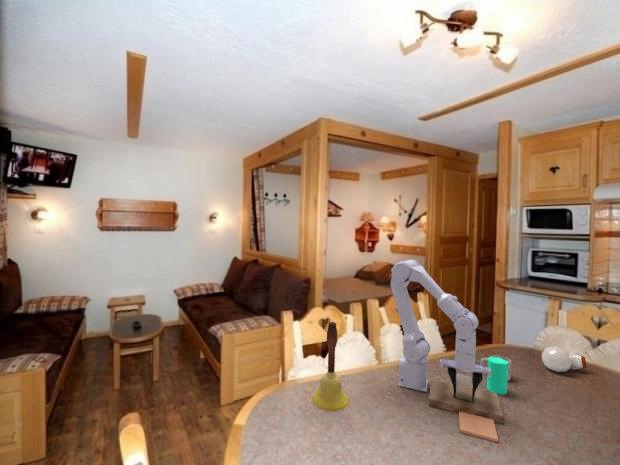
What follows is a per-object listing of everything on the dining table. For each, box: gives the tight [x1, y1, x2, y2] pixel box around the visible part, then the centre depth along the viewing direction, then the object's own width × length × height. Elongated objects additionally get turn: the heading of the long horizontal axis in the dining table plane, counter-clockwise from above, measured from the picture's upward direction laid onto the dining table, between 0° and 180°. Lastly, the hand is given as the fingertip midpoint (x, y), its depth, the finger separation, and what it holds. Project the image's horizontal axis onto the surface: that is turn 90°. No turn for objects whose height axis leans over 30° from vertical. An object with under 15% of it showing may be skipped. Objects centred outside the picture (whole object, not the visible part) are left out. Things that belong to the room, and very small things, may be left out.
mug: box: [480, 354, 512, 382], centre depth 117 cm, size 10×7×7 cm
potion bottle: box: [541, 345, 587, 373], centre depth 122 cm, size 9×10×15 cm
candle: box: [486, 355, 508, 396], centre depth 106 cm, size 6×6×12 cm
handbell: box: [311, 321, 350, 412], centre depth 98 cm, size 12×12×25 cm
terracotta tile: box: [458, 411, 499, 443], centre depth 86 cm, size 9×9×1 cm
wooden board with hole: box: [428, 379, 505, 425], centre depth 98 cm, size 20×13×2 cm, turn 66°
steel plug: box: [454, 373, 473, 403], centre depth 98 cm, size 4×4×8 cm
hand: (463, 393), depth 98 cm, fingers closed on steel plug, 4 cm apart
